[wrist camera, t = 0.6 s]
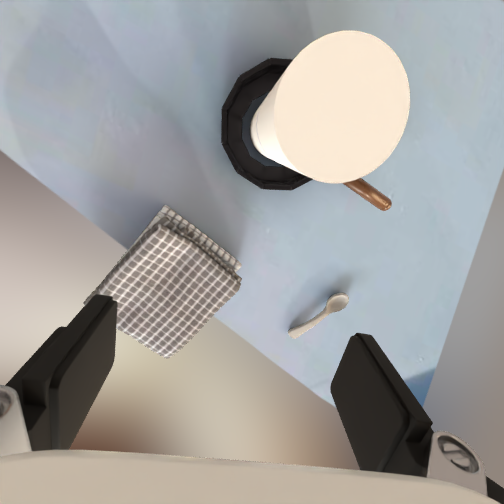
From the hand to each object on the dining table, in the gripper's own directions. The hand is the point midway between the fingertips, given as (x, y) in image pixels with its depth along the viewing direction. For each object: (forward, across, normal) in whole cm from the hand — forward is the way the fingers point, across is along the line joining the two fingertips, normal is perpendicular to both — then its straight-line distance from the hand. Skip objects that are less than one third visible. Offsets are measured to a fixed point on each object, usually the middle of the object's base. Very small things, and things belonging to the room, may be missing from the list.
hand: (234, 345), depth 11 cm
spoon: (+32, -18, +17) cm, 40 cm away
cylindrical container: (+32, -4, -9) cm, 34 cm away
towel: (+32, +7, +14) cm, 36 cm away
